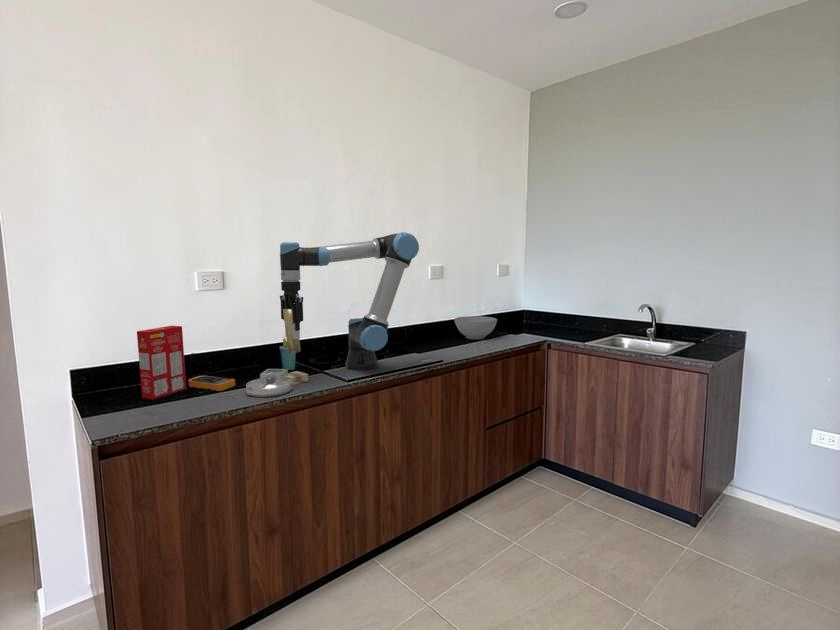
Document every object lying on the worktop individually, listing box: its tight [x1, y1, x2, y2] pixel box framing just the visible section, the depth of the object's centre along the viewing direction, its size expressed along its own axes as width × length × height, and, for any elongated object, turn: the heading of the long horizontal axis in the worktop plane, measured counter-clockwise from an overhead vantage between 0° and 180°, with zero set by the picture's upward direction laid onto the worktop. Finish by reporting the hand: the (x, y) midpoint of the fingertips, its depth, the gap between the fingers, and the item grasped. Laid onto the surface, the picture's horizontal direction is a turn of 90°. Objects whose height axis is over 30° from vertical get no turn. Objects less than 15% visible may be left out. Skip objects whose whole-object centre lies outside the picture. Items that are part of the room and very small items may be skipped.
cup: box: [279, 337, 297, 371], centre depth 210 cm, size 14×8×15 cm, turn 48°
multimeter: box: [187, 375, 236, 392], centre depth 184 cm, size 9×18×3 cm, turn 68°
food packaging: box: [136, 325, 187, 401], centre depth 173 cm, size 15×5×25 cm, turn 159°
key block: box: [286, 370, 309, 386], centre depth 191 cm, size 8×8×3 cm
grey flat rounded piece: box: [245, 368, 294, 398], centre depth 178 cm, size 18×17×6 cm
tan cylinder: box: [283, 308, 301, 354], centre depth 188 cm, size 5×5×18 cm
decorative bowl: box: [453, 315, 498, 340], centre depth 291 cm, size 27×27×12 cm
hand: (292, 337), depth 188 cm, fingers closed on tan cylinder, 5 cm apart
